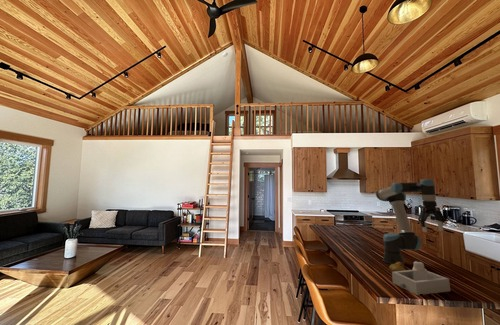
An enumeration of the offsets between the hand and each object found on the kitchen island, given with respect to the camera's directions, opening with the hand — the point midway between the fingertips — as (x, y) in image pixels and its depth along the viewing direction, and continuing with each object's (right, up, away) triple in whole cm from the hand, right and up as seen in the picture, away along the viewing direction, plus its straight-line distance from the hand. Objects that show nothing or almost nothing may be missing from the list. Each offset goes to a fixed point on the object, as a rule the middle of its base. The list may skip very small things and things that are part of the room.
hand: (433, 231), depth 150 cm
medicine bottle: (-20, -27, -14) cm, 37 cm away
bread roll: (-21, -33, +5) cm, 40 cm away
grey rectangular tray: (-21, -30, -15) cm, 40 cm away
